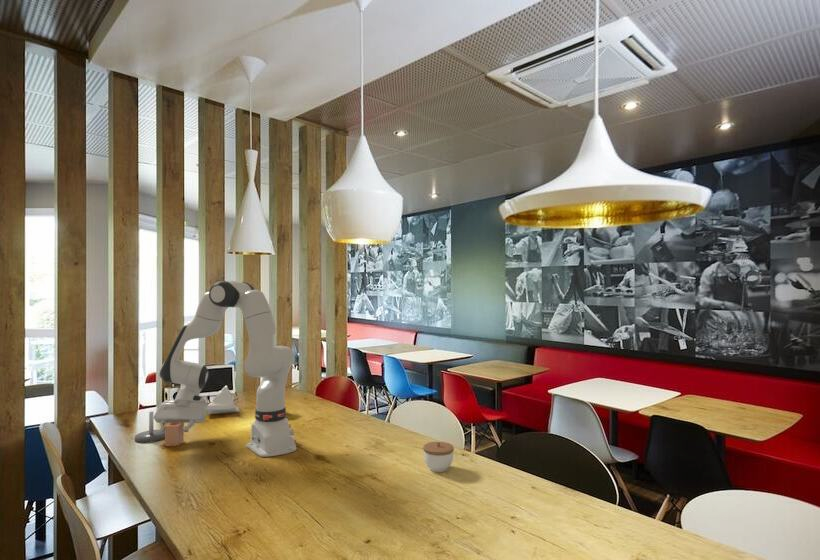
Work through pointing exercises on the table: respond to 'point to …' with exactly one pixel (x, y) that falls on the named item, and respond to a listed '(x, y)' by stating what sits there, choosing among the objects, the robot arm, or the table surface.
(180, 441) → the collar
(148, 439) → the stand
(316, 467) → the table surface
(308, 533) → the table surface
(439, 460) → the lidded jar
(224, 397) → the white irregular peaked block
